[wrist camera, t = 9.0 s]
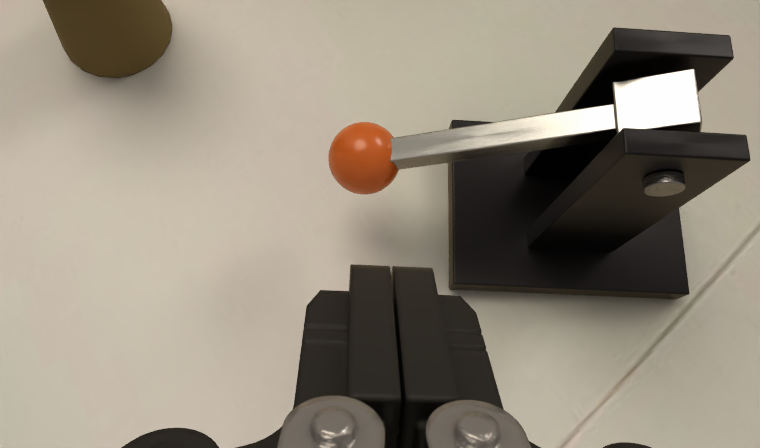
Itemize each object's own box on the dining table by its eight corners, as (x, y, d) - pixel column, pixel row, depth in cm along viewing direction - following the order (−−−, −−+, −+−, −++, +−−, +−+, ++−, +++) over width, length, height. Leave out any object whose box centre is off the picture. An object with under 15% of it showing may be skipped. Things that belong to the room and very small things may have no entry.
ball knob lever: (345, 207, 30) (313, 183, 28) (348, 145, 31) (317, 115, 29) (700, 166, 25) (704, 130, 22) (690, 92, 26) (693, 49, 23)
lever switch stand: (448, 289, 33) (516, 203, 21) (447, 130, 36) (507, -27, 24) (677, 299, 34) (870, 222, 22) (658, 142, 37) (820, -5, 24)
